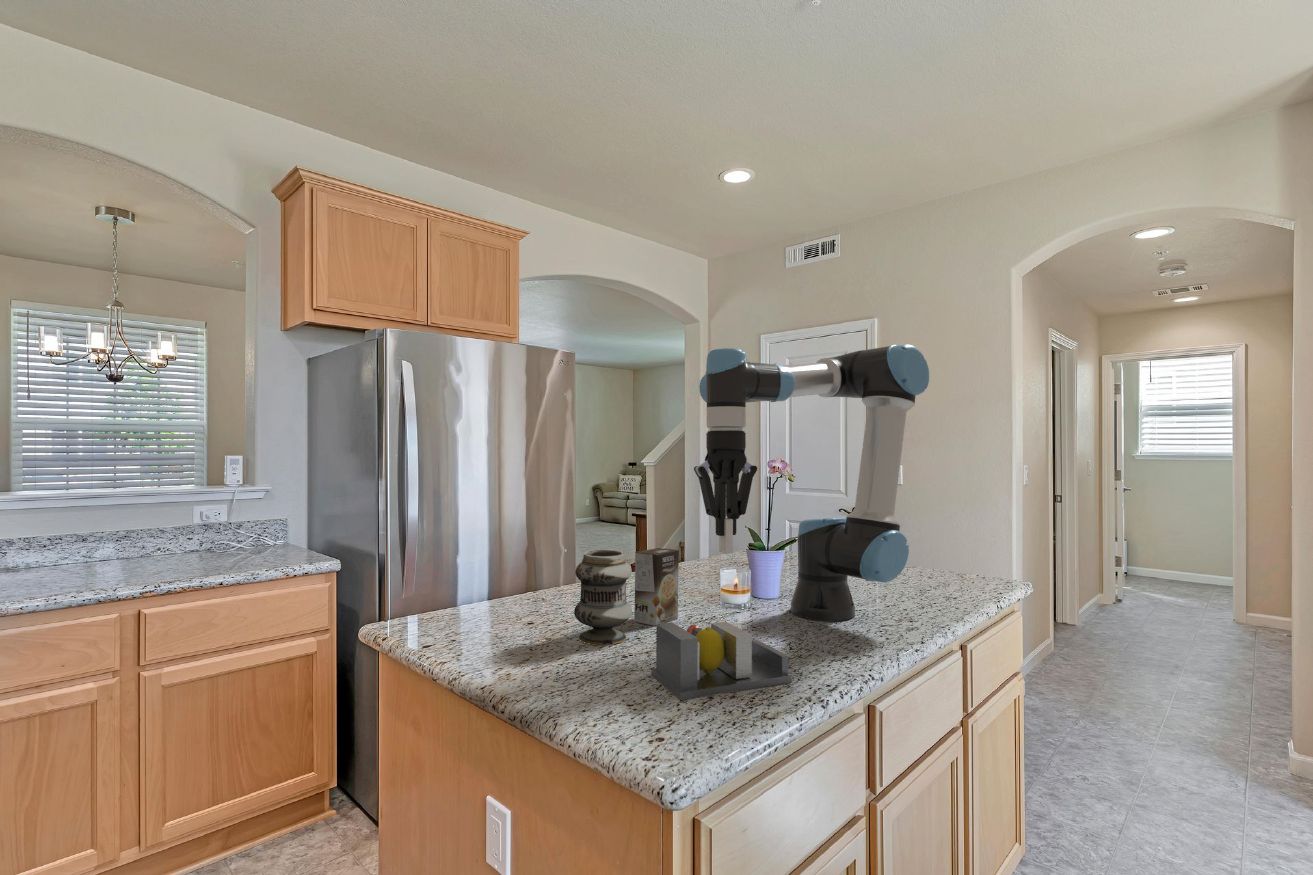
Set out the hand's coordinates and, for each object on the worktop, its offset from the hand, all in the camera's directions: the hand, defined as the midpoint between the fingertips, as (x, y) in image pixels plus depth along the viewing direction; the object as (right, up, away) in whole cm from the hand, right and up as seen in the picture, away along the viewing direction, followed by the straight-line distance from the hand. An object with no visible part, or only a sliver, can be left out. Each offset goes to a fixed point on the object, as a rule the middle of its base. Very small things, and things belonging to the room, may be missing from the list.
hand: (726, 552), depth 124 cm
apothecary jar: (-25, -20, +11) cm, 34 cm away
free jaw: (-3, -18, -6) cm, 20 cm away
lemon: (-4, -19, -13) cm, 23 cm away
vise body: (-2, -20, -12) cm, 23 cm away
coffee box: (-13, -21, +26) cm, 35 cm away
